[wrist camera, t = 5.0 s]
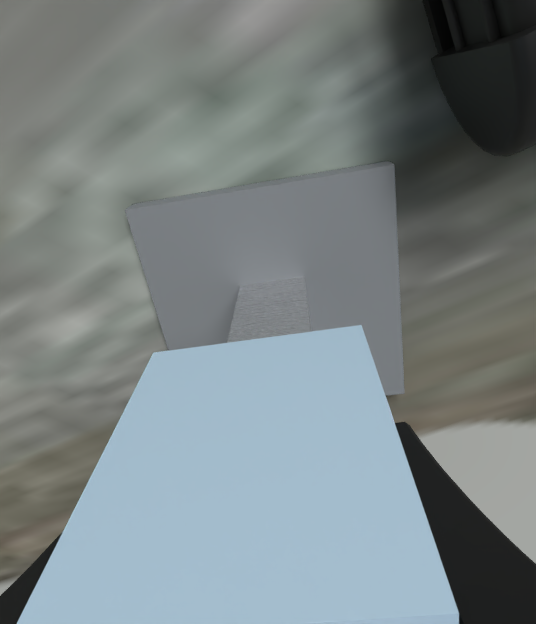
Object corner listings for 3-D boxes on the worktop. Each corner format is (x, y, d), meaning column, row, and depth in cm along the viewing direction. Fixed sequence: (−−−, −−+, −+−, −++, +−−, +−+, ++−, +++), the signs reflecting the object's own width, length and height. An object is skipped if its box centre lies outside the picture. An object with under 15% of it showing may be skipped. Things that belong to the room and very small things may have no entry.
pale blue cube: (361, 324, 11) (459, 614, 5) (375, 482, 13) (453, 812, 7) (153, 352, 11) (6, 643, 5) (201, 498, 13) (136, 819, 7)
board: (388, 160, 17) (394, 164, 16) (399, 380, 21) (404, 393, 20) (132, 204, 18) (124, 209, 17) (193, 404, 22) (189, 418, 21)
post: (303, 276, 18) (311, 338, 13) (312, 333, 19) (321, 408, 14) (240, 285, 18) (225, 349, 13) (251, 341, 19) (242, 417, 15)
